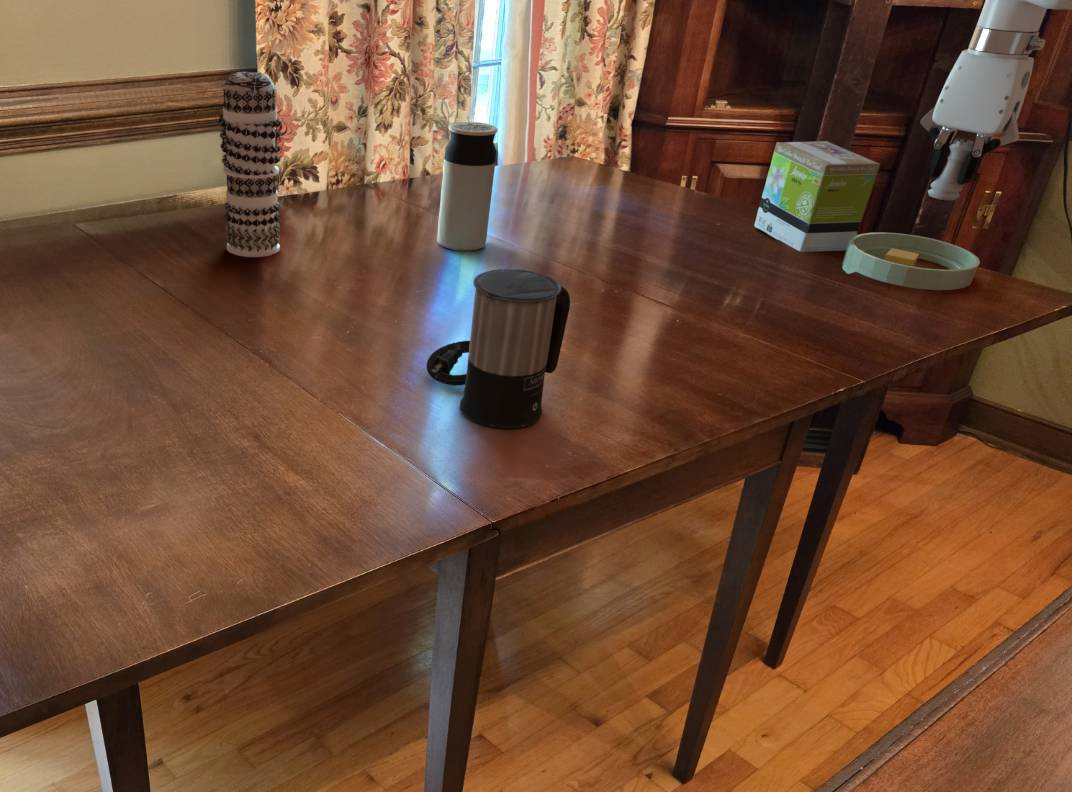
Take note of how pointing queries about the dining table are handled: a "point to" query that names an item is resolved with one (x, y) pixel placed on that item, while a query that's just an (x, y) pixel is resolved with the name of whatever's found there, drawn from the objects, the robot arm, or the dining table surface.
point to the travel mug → (467, 186)
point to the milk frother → (507, 347)
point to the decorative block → (902, 257)
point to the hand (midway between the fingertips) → (949, 178)
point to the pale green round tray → (869, 261)
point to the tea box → (815, 195)
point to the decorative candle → (251, 164)
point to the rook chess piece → (951, 172)
